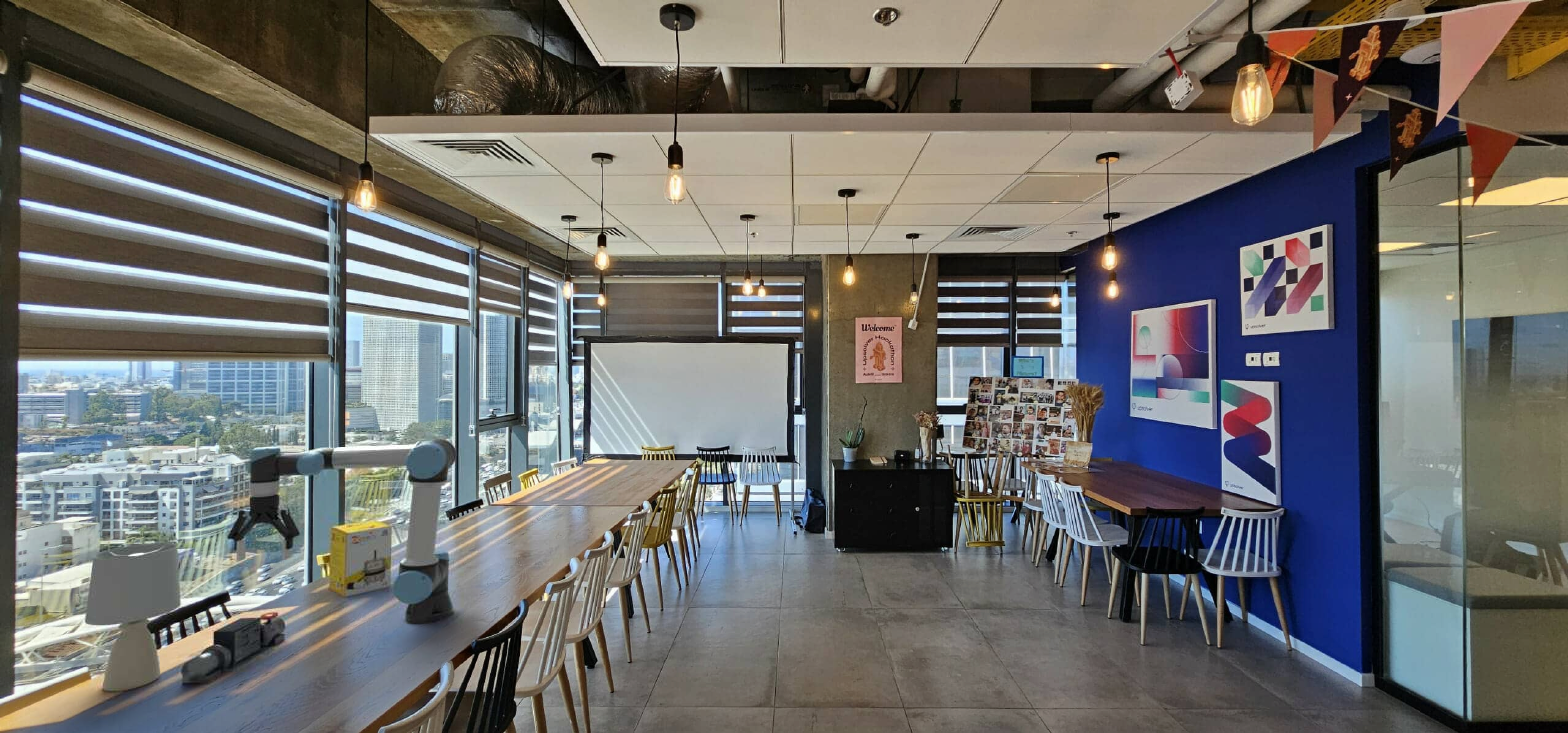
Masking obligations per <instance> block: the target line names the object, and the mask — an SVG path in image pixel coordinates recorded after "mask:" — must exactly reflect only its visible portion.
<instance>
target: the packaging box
mask: <svg viewBox="0 0 1568 733" xmlns="http://www.w3.org/2000/svg"><path fill="white" fill-rule="evenodd" d="M392 529H393V526H392V525H390V524H388V523H384V522H382V521H379V520H374V519H373V520H368V521H362V522H355V523H348V524H343V525H336V526H331V527H330V535H329V536H330V538H329V539H330V541H329V543H330V544H329V545H330V546H329V573H328V575H329V576H328V589H329V590H331V591H332V592H334V593H337V594H338V595H340V596H342V597H343V598H346V597H351V596H356V595H360V594H363V593H368V592H372V591H376V590H380V589H384V588H389V587H391V568H392V565H391V563H392Z"/></svg>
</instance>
